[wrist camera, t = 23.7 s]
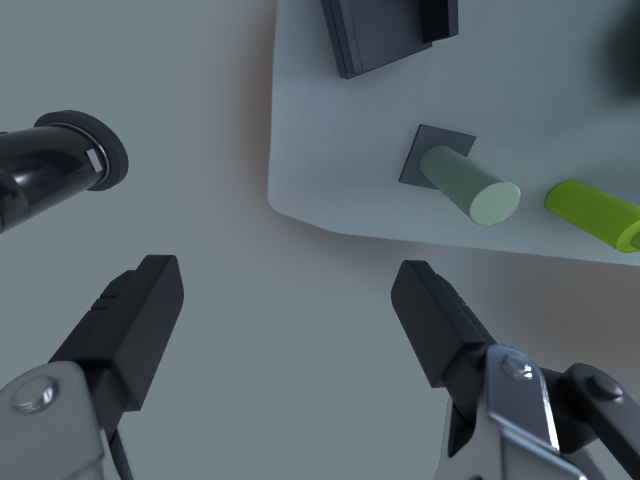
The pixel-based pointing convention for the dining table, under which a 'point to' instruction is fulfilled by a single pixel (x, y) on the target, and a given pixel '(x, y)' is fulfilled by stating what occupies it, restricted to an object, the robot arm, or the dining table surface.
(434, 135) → the coaster
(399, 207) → the dining table surface
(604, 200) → the soap dispenser
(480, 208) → the green cylinder
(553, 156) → the dining table surface
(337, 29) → the navy chair block
